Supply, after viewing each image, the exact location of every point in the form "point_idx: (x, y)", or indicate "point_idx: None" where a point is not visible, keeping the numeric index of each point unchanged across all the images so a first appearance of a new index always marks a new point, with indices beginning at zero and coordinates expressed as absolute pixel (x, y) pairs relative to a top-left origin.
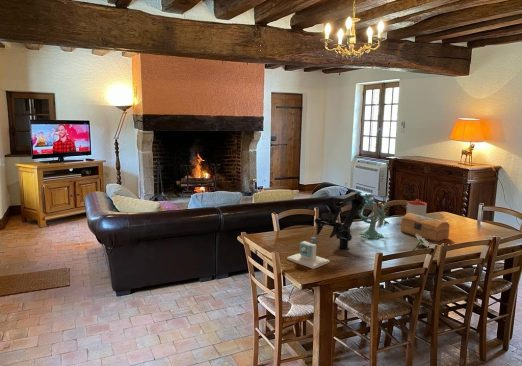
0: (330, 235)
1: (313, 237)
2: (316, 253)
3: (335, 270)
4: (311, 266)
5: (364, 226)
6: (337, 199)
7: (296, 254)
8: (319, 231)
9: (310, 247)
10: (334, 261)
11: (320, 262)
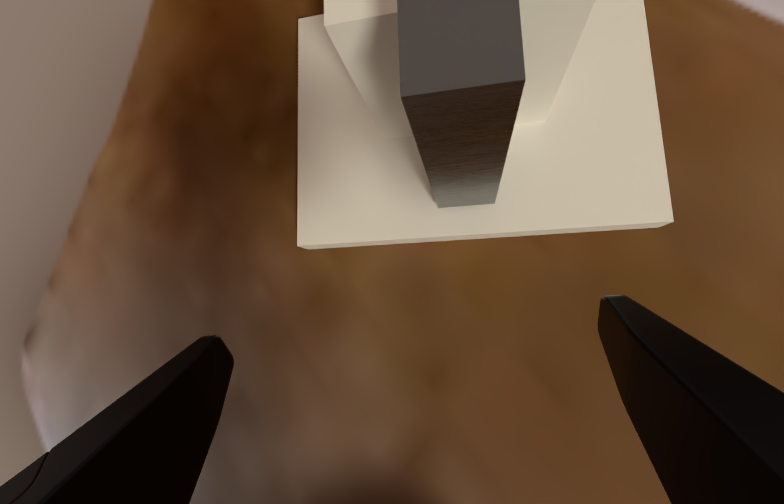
0: (179, 368)
1: (482, 42)
2: (435, 196)
3: (181, 156)
4: (321, 20)
5: None
6: None
7: (641, 83)
8: (666, 445)
9: None
10: (295, 313)
11: (315, 132)
